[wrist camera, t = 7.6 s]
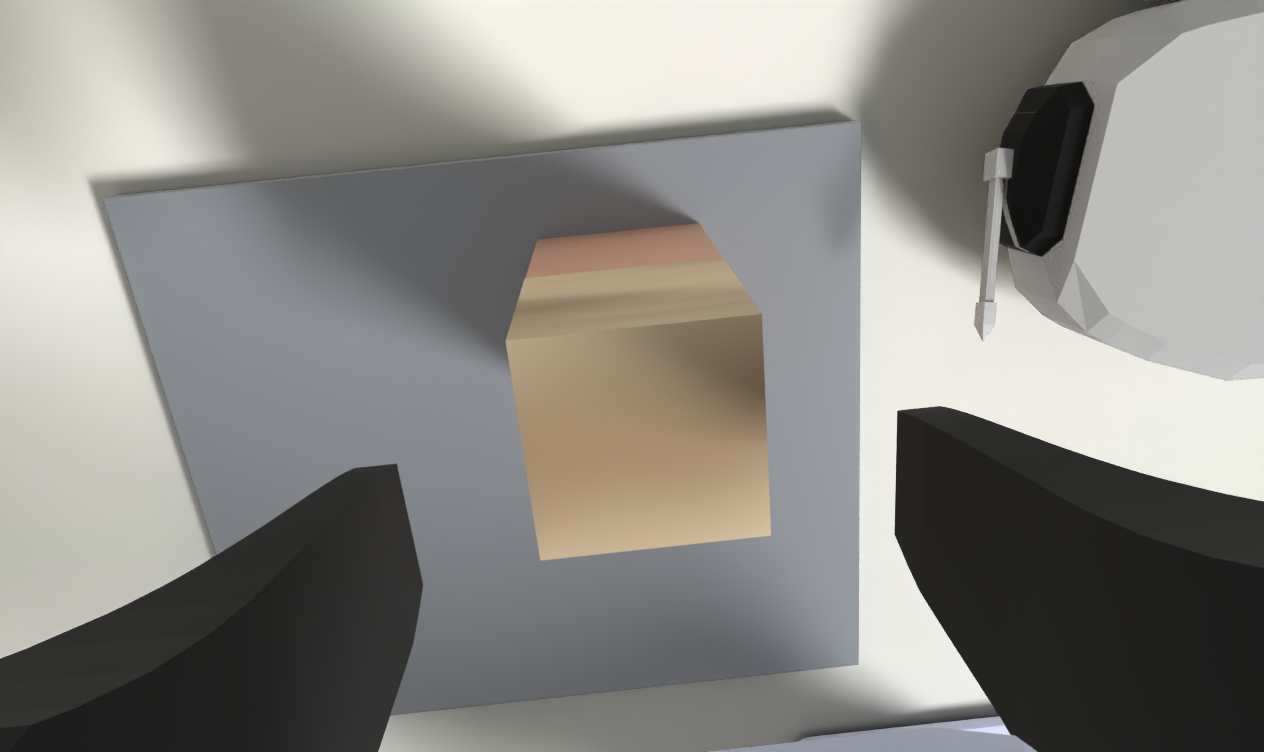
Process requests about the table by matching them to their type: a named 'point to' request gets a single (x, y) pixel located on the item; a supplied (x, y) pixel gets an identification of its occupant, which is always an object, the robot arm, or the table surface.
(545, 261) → the base brick
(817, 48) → the table surface
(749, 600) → the baseplate
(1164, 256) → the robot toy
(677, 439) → the top brick
